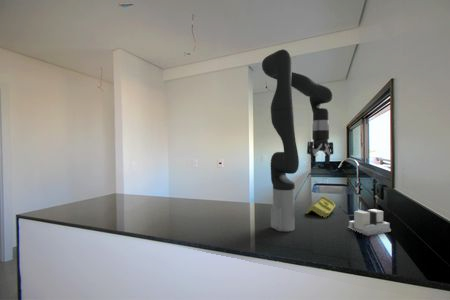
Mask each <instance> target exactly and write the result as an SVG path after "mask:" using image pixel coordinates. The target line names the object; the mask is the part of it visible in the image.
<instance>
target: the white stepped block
mask: <svg viewBox="0 0 450 300" xmlns="http://www.w3.org/2000/svg"><path fill="white" fill-rule="evenodd" d="M366 212H369V213H370V225H365V226H363V230H360V229H357V228H354V220H349V221H348V226H347V229H348V228H350V229H352V230H351V231H353V230H354V231H353V232H356V231H357V233H358V232H359V233H358V234H361V233H362V235H365V236H373V235H379V234H385V233H389V232H391V231H392V229H391V227H390V224H391V223H390V222H387V221H384V211H383V210H379V209H376V208H373V209H367V211H366ZM350 229H349V230H350Z"/></svg>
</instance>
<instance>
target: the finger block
mask: <svg viewBox="0 0 450 300" xmlns="http://www.w3.org/2000/svg"><path fill="white" fill-rule="evenodd" d="M353 217H354V218H353V221H354V228H357V229H360V230H363V226H365V225H370V213H369V212H367V211H365V210H361V209H360V210H355V211H354V214H353Z"/></svg>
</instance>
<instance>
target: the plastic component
mask: <svg viewBox="0 0 450 300" xmlns="http://www.w3.org/2000/svg"><path fill="white" fill-rule="evenodd" d="M335 208H336V204H335V203H334V201H333V200H331V199H329V198H328V197H326V196H323V195H322V196H320V198H319V199H318V200H317V201H316V203H315V204H311V205H310V206H309V207H308V208H307V210H306V211H305V214H306V215H308V214H310V213H311V212H314V213H316V214H317V215H318V216H320V217H322V216H323V217H322V218H328V217H329V215H331V213H332V212H333V210H334V209H335ZM327 216H328V217H327Z"/></svg>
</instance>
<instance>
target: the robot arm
mask: <svg viewBox="0 0 450 300" xmlns="http://www.w3.org/2000/svg"><path fill="white" fill-rule="evenodd" d="M261 67H262V72H263V73H264V74H265V75H266V76H268V77H270V78H272V79H275V80H276V88H275V90H274V91H275V92H274V95H273V97H272V101H271V103H270V104H271V105H270V118H271V119H270V120H271V124H272V126H273V128H274V130H275V131H276V133H277V134H278V136H279V137H280V140H281V143H282V146H283V151H277V152H274V153H273V154H272V155H271V158H270V179H271V184H272V205H270V228H272V229H274V230H276V231H278V232H293V231H295V218H296V217H295V210H296V209H295V204H296V203H295V200H296V199H295V197H296V196H295V195H296V194H295V193H296V191H295V186H296V185H295V182H293V180H291V179H289V178H288V176H287V174H288V175H290V174H291V175H293V174H295V173H297V172H298V170H299V166H300V157H299V152H298V147H297V140H296V133H295V123H294V122H295V120H294V118H295V117H294V107H293V96H292V88H293V89H295V90H297V91H299V93H301V94H303V95H304V96H306V97H309V103H310V106H311V111H312V130H311V131H312V134H311V135H312V137H311V138H312V141H307V144H306V145H307V146H306V147H307V149H306V154H307V155H310V163H311V164H316V163H317V162H316V161H317V160H316V159H317V157H316V155H317V153H318V152H319V151H320V152H323V153H324V163H325V164H330V162H331V155H334V142H333V141H331V142H330V141H329V139H330V123H329V122H330V121H329V109H328V108H326V107H325V108H323V107H321V105H323V104H327V103H329V102H331V101H332V100H333V96H334V95H333V91H332V90H331V89H330V87H327V86H325V85H322V84H320V83H317V82H315V80H312V79H311V78H309V77H308V76H306V75H303V74H301V73H297V72H293V71H292V70H293V69H292V68H293V66H292V58H291V55H290V53H289V52H288V50H286V49H284V48H283V49H279V50H277V51H275V52H273V53H271V54H269V55H267V56H265V58H263V60H262V63H261Z"/></svg>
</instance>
